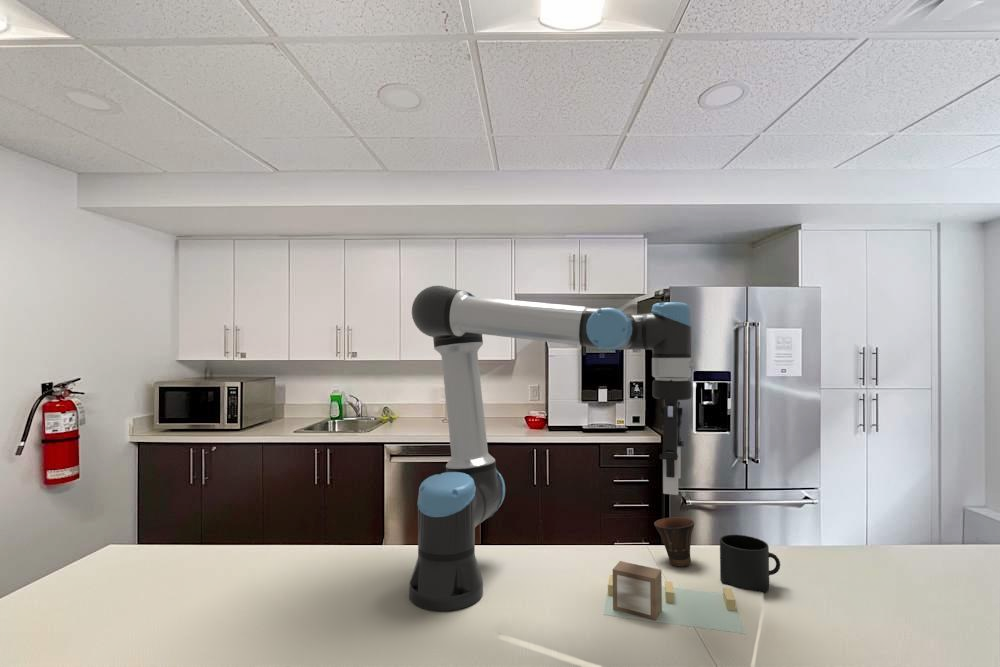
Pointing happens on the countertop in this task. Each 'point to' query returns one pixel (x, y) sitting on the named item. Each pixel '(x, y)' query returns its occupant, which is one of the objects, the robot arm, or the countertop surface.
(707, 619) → the wall board
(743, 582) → the mug
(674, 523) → the cup
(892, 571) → the countertop surface
